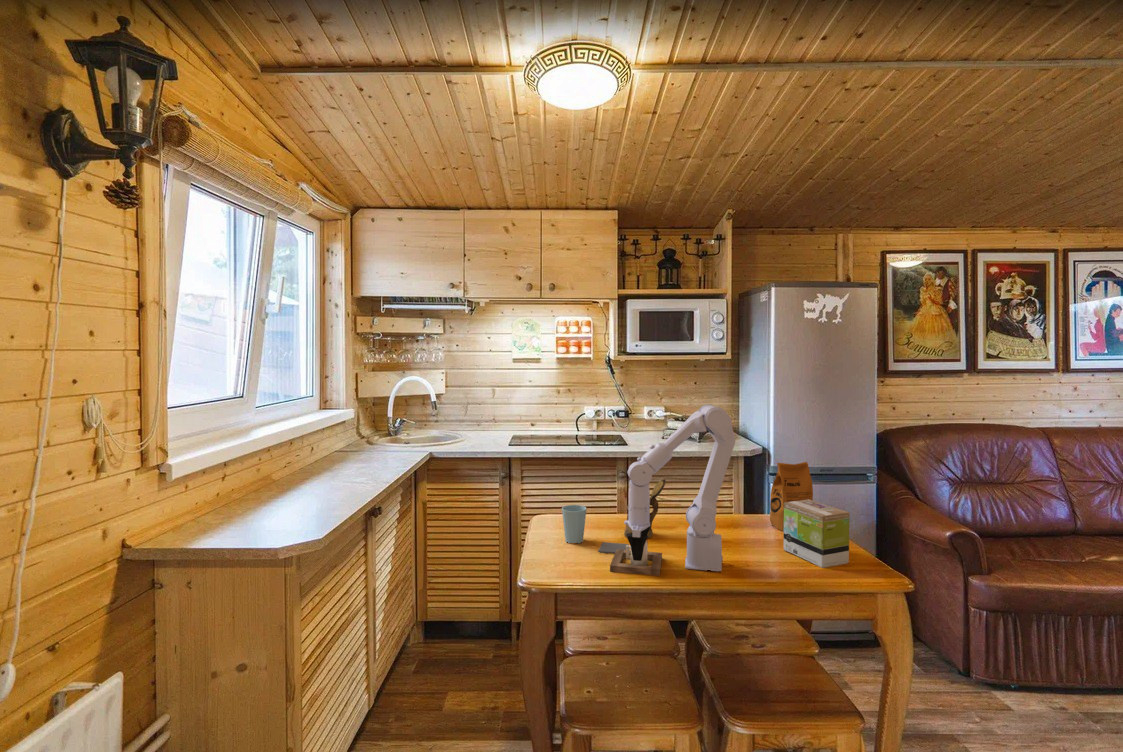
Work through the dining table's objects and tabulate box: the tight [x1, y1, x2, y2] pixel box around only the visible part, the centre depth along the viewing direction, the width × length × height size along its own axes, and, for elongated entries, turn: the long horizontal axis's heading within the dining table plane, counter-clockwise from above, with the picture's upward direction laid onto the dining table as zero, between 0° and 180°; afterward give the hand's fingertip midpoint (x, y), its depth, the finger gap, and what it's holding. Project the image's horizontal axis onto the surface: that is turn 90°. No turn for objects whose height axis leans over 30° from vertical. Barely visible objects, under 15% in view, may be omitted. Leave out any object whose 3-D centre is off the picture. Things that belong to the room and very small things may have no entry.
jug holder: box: [609, 549, 663, 577], centre depth 152 cm, size 13×13×2 cm
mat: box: [597, 541, 630, 555], centre depth 164 cm, size 8×8×1 cm
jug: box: [625, 540, 649, 566], centre depth 152 cm, size 6×5×6 cm
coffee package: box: [769, 461, 814, 532], centre depth 185 cm, size 10×12×22 cm
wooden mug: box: [623, 478, 666, 539], centre depth 177 cm, size 9×14×18 cm, turn 95°
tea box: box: [783, 499, 850, 569], centre depth 157 cm, size 15×10×15 cm
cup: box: [561, 504, 587, 544], centre depth 172 cm, size 8×8×10 cm
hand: (638, 555), depth 152 cm, fingers open, 7 cm apart
